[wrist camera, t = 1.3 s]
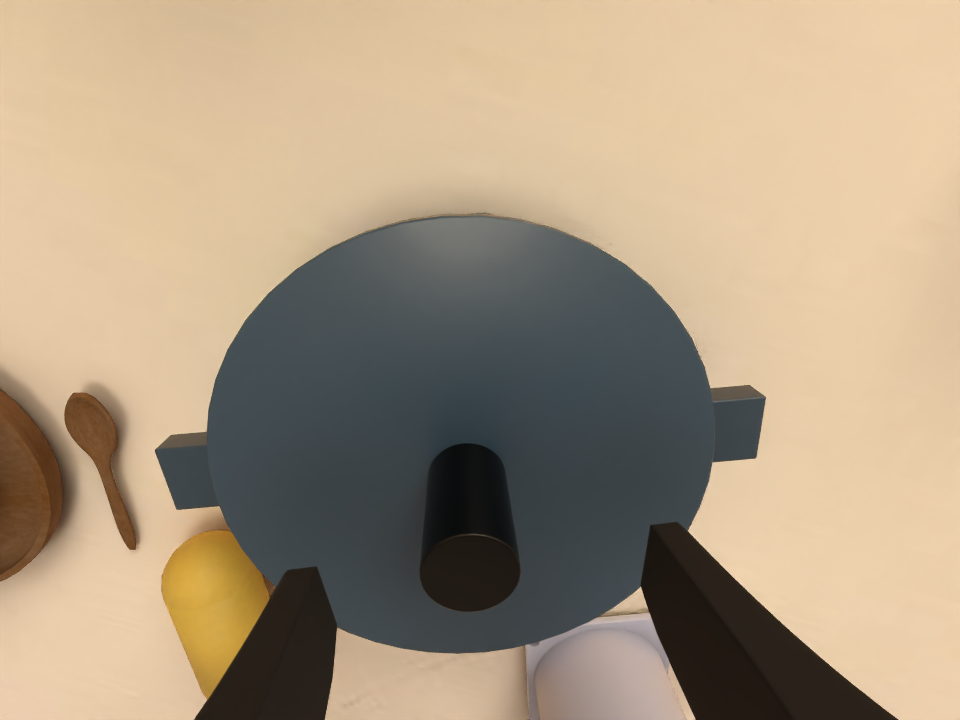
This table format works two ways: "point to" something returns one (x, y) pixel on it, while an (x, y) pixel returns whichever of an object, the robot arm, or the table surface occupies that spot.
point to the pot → (732, 405)
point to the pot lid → (460, 431)
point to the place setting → (48, 477)
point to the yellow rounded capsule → (212, 601)
